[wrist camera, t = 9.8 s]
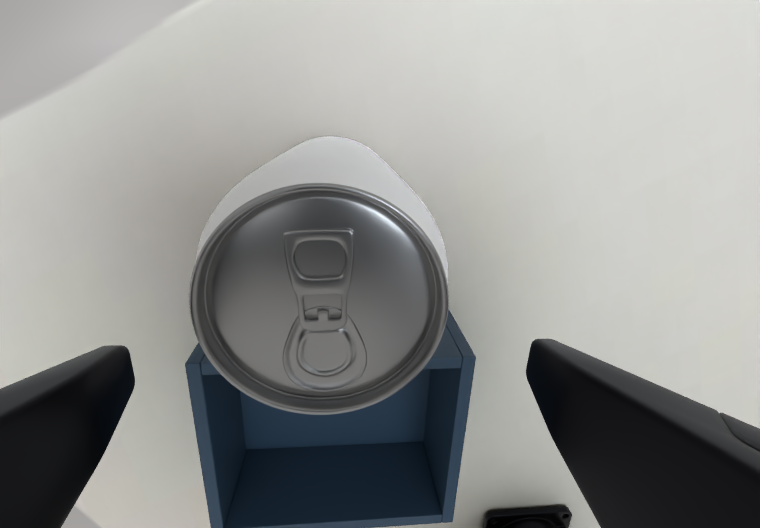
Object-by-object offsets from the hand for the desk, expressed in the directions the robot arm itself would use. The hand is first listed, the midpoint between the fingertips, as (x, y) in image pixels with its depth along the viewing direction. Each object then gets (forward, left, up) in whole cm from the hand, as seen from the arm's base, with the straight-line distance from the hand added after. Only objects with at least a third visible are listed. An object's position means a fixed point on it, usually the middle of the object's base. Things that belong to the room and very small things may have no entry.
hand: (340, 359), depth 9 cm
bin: (0, +10, -12) cm, 15 cm away
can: (0, -1, -12) cm, 12 cm away
